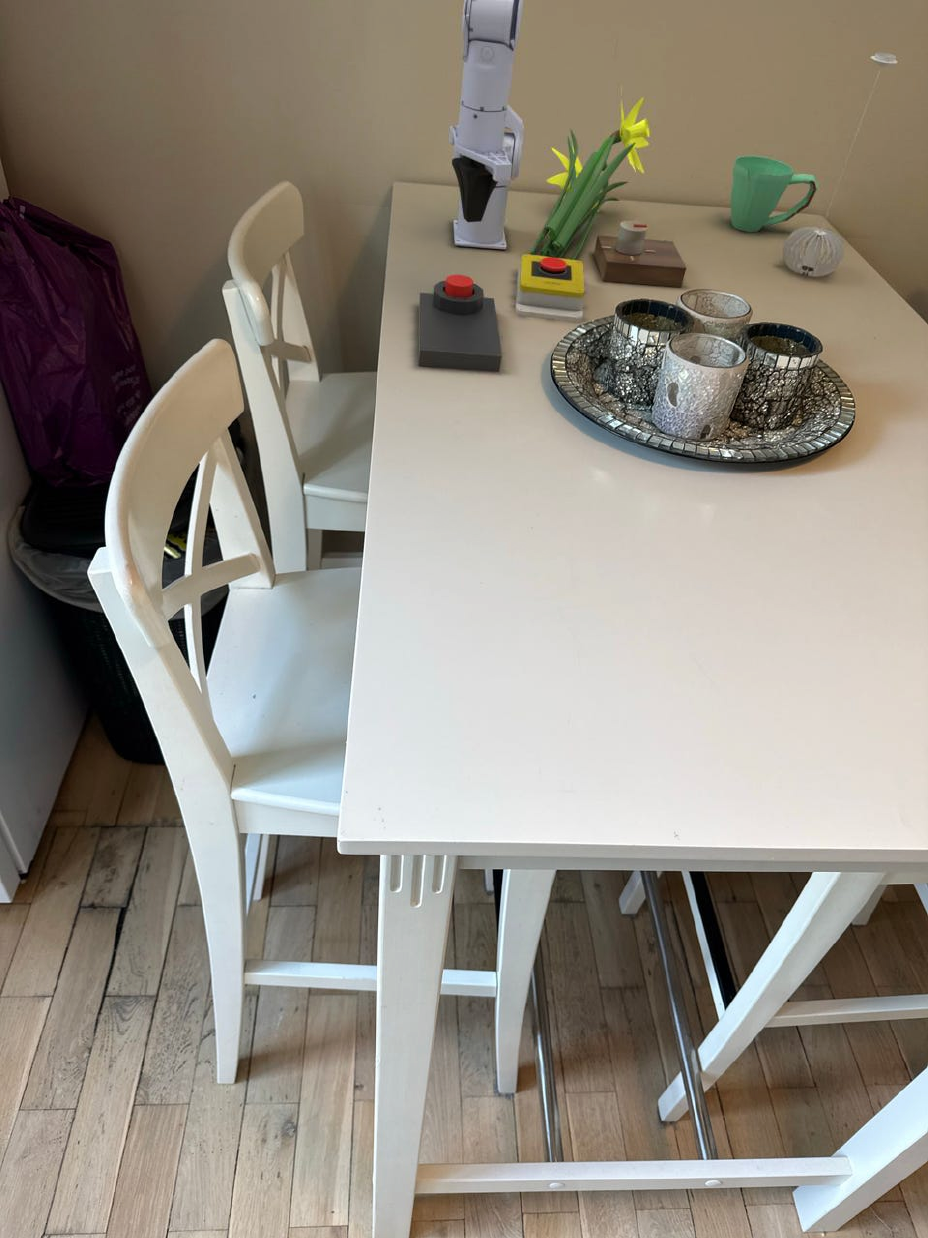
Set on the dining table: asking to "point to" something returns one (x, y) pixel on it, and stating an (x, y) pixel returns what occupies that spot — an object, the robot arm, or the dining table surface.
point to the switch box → (458, 331)
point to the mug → (763, 192)
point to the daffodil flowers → (589, 185)
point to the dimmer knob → (631, 237)
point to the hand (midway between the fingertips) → (472, 219)
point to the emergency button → (550, 288)
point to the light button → (459, 286)
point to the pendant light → (825, 235)
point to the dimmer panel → (640, 263)
